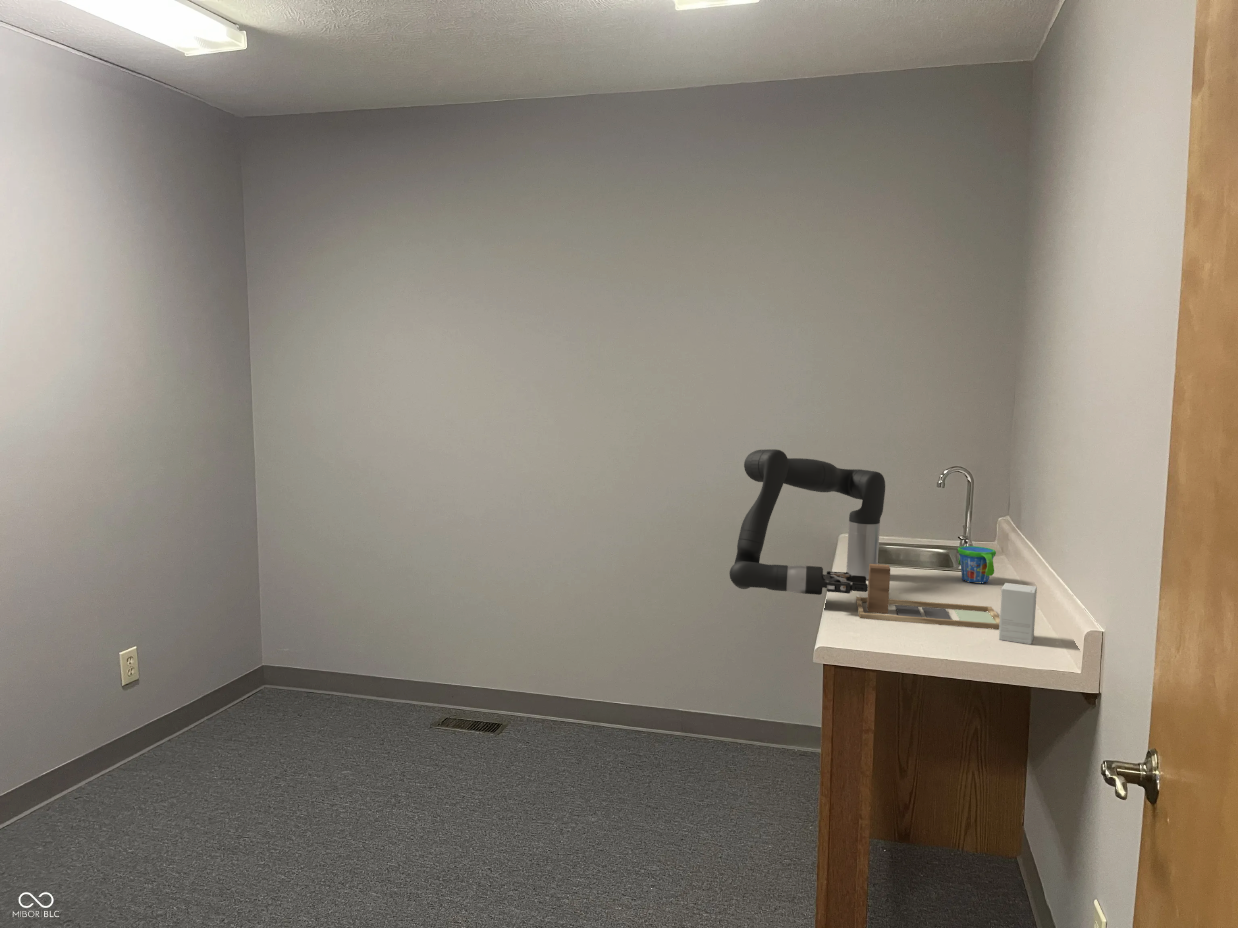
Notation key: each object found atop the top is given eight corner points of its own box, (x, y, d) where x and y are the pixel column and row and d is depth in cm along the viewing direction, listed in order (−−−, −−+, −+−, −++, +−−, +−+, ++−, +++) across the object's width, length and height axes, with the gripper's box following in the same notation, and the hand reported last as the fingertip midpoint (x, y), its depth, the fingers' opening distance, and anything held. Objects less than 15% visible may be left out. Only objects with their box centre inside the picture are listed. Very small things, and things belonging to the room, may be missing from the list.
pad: (954, 610, 233) (954, 609, 233) (988, 613, 231) (988, 612, 231) (961, 623, 221) (961, 621, 221) (997, 625, 219) (997, 624, 219)
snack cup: (947, 575, 275) (949, 543, 274) (979, 575, 276) (981, 544, 275) (969, 587, 260) (971, 553, 259) (1003, 587, 260) (1006, 554, 259)
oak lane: (856, 600, 241) (856, 596, 241) (991, 610, 233) (991, 606, 233) (859, 617, 223) (859, 613, 223) (1005, 629, 216) (1005, 625, 216)
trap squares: (894, 606, 236) (894, 604, 236) (945, 610, 233) (945, 608, 233) (899, 618, 224) (899, 616, 224) (952, 622, 221) (952, 620, 221)
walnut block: (866, 607, 234) (869, 563, 233) (886, 608, 233) (888, 565, 232) (868, 612, 229) (870, 567, 228) (887, 613, 228) (890, 568, 227)
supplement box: (1034, 637, 210) (1038, 586, 209) (1031, 645, 204) (1035, 592, 203) (1001, 632, 214) (1005, 581, 213) (997, 639, 208) (1001, 587, 206)
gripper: (804, 571, 227) (869, 576, 224) (805, 560, 241) (866, 564, 238) (803, 599, 228) (867, 604, 225) (804, 586, 242) (864, 591, 238)
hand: (866, 583), depth 231 cm, fingers open, 8 cm apart
